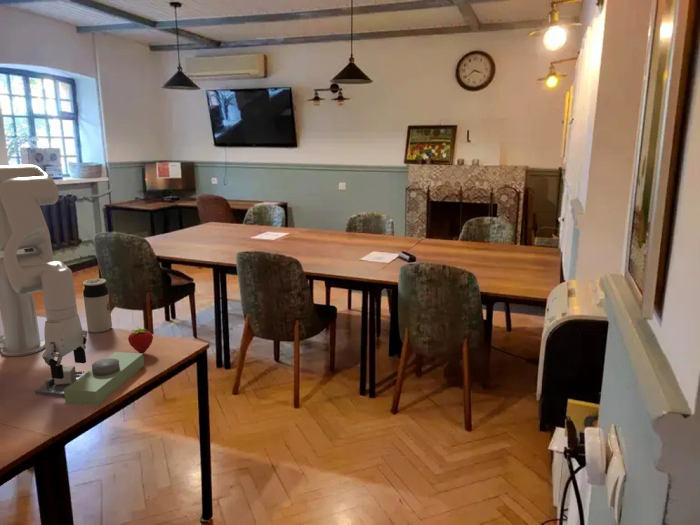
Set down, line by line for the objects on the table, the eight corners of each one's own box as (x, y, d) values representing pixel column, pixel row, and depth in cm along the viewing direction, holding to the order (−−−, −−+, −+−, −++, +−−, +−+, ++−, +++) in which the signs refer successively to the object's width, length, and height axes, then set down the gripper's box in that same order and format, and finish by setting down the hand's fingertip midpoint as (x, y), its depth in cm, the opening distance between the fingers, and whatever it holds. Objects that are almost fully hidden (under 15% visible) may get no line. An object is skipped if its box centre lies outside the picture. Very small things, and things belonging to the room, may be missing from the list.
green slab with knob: (64, 402, 137) (61, 382, 135) (115, 363, 160) (113, 345, 158) (97, 405, 136) (94, 384, 134) (144, 365, 159) (142, 347, 157)
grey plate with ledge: (35, 394, 141) (34, 386, 140) (64, 374, 153) (63, 366, 152) (71, 397, 140) (70, 388, 139) (97, 377, 151) (96, 369, 151)
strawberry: (152, 357, 165) (149, 327, 162) (127, 358, 164) (124, 328, 161) (156, 349, 170) (153, 321, 168) (132, 350, 169) (129, 321, 167)
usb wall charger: (60, 379, 148) (58, 366, 147) (86, 377, 149) (84, 364, 148) (55, 385, 144) (53, 372, 143) (81, 384, 145) (79, 370, 144)
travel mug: (83, 332, 184) (77, 284, 179) (94, 324, 192) (89, 278, 187) (105, 333, 184) (99, 284, 179) (116, 325, 191) (110, 278, 187)
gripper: (69, 301, 149) (76, 356, 154) (25, 323, 133) (35, 383, 137) (93, 302, 148) (100, 358, 153) (52, 324, 132) (61, 385, 136)
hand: (69, 370), depth 145 cm, fingers open, 9 cm apart
